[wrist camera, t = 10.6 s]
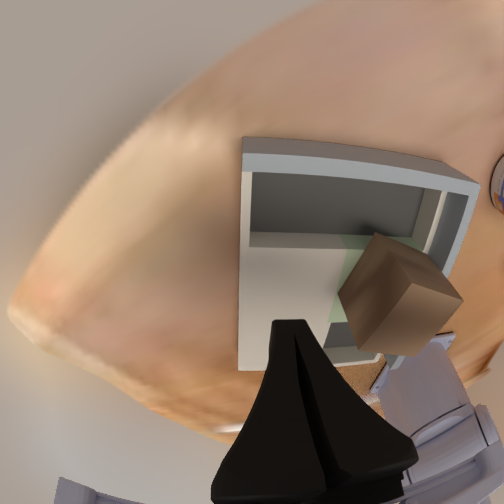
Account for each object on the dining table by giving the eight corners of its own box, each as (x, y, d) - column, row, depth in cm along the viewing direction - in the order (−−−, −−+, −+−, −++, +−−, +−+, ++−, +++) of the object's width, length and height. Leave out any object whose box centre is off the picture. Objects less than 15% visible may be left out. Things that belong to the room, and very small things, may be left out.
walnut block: (389, 306, 19) (414, 357, 15) (337, 293, 18) (358, 350, 14) (427, 254, 17) (463, 300, 13) (375, 231, 16) (411, 282, 12)
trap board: (378, 345, 25) (391, 378, 21) (238, 351, 24) (238, 390, 21) (443, 162, 15) (481, 184, 12) (242, 137, 15) (242, 153, 11)
